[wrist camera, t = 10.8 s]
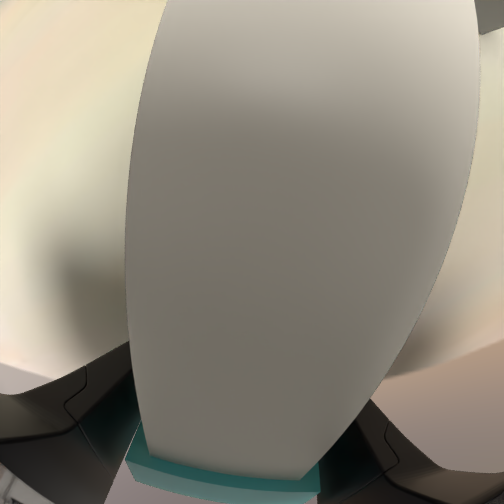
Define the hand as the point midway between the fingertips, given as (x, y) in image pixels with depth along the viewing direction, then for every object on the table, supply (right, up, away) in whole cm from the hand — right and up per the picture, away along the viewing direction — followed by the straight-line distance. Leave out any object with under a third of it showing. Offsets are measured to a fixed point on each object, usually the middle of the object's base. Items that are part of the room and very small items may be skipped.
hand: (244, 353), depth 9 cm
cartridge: (+1, +7, -2) cm, 8 cm away
